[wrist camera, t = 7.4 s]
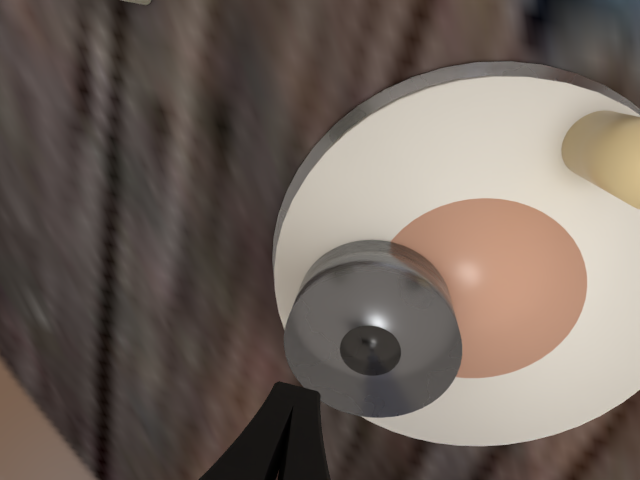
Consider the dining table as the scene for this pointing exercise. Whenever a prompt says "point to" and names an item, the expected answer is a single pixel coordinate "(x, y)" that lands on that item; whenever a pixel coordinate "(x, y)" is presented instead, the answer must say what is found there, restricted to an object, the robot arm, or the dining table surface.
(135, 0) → the skincare box
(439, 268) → the disc
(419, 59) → the dining table surface
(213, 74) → the dining table surface
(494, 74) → the turntable base
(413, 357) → the cover
